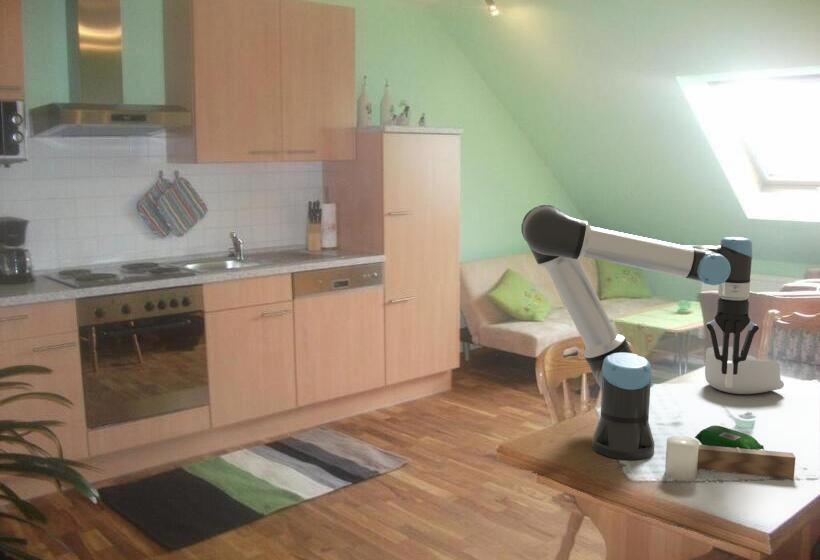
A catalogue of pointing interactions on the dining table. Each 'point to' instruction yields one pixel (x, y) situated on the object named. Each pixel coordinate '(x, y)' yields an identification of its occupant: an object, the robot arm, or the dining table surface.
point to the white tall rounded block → (681, 457)
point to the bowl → (743, 374)
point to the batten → (746, 461)
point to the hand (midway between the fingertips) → (728, 385)
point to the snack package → (727, 438)
